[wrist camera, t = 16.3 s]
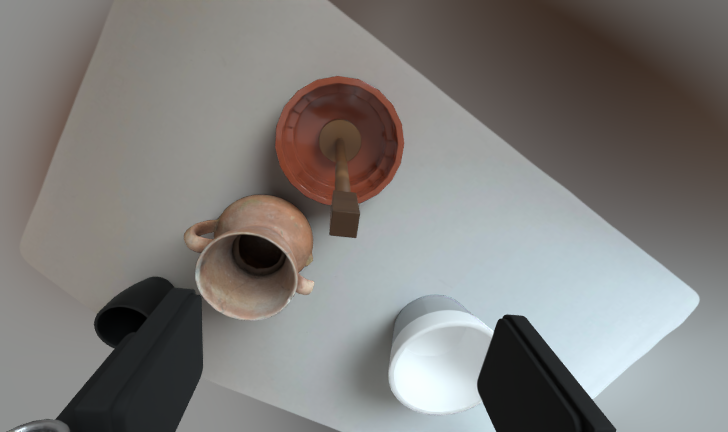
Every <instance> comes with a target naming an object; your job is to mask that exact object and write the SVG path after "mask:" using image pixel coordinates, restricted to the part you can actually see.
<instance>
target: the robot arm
mask: <svg viewBox="0 0 728 432" xmlns="http://www.w3.org/2000/svg"><path fill="white" fill-rule="evenodd" d="M202 369H203V344H202V301H201V296H200V295H196V294H195V290H193V289H182V288H172V289H171V290H170V291H169V292H168V294H167V295H166V296H165V297H164V299H163V300H162V301H161V302H160V304H159V305H158V306H157V307H156V308H155V310H154V311H153V312H152V313H151V315H150V316H149V317H148V318H147V320H146V321H145V322H144V323H143V325H142V326H141V327H140V328H139V329H138V331H137V332H136V333H133V332H132V333H129V334H128V335H126V336H125V337H124V338H123V339H122V341H121V342H120V343H119V344H118V345H117V347H116V348H115V349H114V350H113V351H112V353H111V354H110V355H109V356H108V357H107V359H106V360H105V361H104V362H103V363H102V365H101V366H100V367H99V368H98V369H97V371H96V372H95V373H94V374H93V375H92V376H91V378H90V379H89V380H88V381H87V382H86V384H85V385H84V386H83V387H82V389H81V390H80V391H79V392H78V393H77V394H76V395H75V397H74V398H73V399H72V400H71V401H70V403H69V404H68V405H67V406H66V407H65V409H64V410H63V411H62V412H61V413H60V415H59V416H58V417H57V418H56V419H55V420H52V419H44V420H37V421H32V422H29V423H26V424H23V425H20V426H17V427H15V428H13V429H11V430H9V431H7V432H175V431H176V429H177V427H178V425H179V422H180V421H181V418H182V416H183V414H184V412H185V410H186V407H187V405H188V403H189V401H190V399H191V397H192V395H193V392H194V390H195V388H196V386H197V384H198V382H199V379H200V377H201V374H202ZM477 390H478V393H479V395H480V397H481V400H482V402H483V404H484V406H485V408H486V410H487V413H488V415H489V417H490V419H491V421H492V424H493V426H494V428H495V430H496V432H616V429H615V427H614V426H613V425H612V424H611V422H610V421H609V420H608V419H607V417H606V416H605V415H604V414H603V413H602V411H601V410H600V409H599V408H598V406H597V405H596V404H595V403H594V401H593V400H592V399H591V398H590V396H589V395H588V394H587V393H586V391H585V390H584V389H583V388H582V386H581V385H580V384H579V383H578V382H577V380H576V379H575V378H574V377H573V375H572V374H571V373H570V372H569V370H568V369H567V368H566V367H565V365H564V364H563V363H562V362H561V361H560V359H559V358H558V357H557V356H556V354H555V353H554V352H553V351H552V349H551V348H550V347H549V346H548V344H547V343H546V342H545V341H544V339H543V338H542V337H541V336H540V335H539V333H538V332H537V331H536V330H535V328H534V327H533V326H532V325H531V323H530V322H529V321H528V320H527V318H525V317H524V316H519V315H504V316H503V318H502V319H499V320H498V322H497V324H496V327H495V330H494V333H493V336H492V339H491V342H490V345H489V348H488V351H487V354H486V356H485V359H484V362H483V365H482V368H481V371H480V374H479V377H478V380H477Z"/></svg>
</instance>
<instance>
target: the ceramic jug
mask: <svg viewBox="0 0 728 432" xmlns="http://www.w3.org/2000/svg"><path fill="white" fill-rule="evenodd" d="M212 232H214V239H207V238H203V237H200V236H201V235H203V234H207V233H212ZM184 241H185V243H186V245H187V247H188V248H189V249H191V250H193V251H195V252H199V253H201V254H200V256H199V258H198V260H197V263H196V267H195V279H196V284H197V287H198V290H199V291H200V293H201V295H202V296H203V298H204V299H205V300H206V301H207V302H208V303H209V304H210V305H211V306H212V307H213V308H214V309H216V310H217V311H218V312H220V313H222V314H224V315H226V316H228V317H231V318H235V319H238V320H249V321H254V320H262V319H266V318H269V317H272V316H274V315H276V314H278V313H279V312H281V311H282V310H283V309H284V308H285V307H286V306H287V305H288V304H289V303H290V301H291V299H292V297H293V296H294V294H295V292H297V293H299V294H302V295H308V294H310V293H311V292H312V290H313V287H314V281H310V280H307V279H305V278H304V277H302V276H301V275H300V274H299V272H300V271H301V270H302V269H303V268H304V266H308V265H309V264H310V263H311V262H312V261H313V256H312V248H313V235H312V231H311V227H310V225H309V223H308V221H307V219H306V217H305V216H304V215H303V213H302V212H301V211H300V210H299V209H298V208H297V207H295V206H294V205H293V204H292V203H290V202H288V201H286V200H284V199H282V198H279V197H276V196H271V195H251V196H247V197H244V198H241V199H239V200H237V201H235V202H234V203H232V204H231V205H230V206H228V207H227V208H226V209H225V210H224V212H223V213H222V214H221V216H220V217H219V219H217V220H208V221H204V222H200V223H197V224H195V225H193V226H192V227H190V228H189V229H188V230H187V231H186V232H185V234H184Z"/></svg>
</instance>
